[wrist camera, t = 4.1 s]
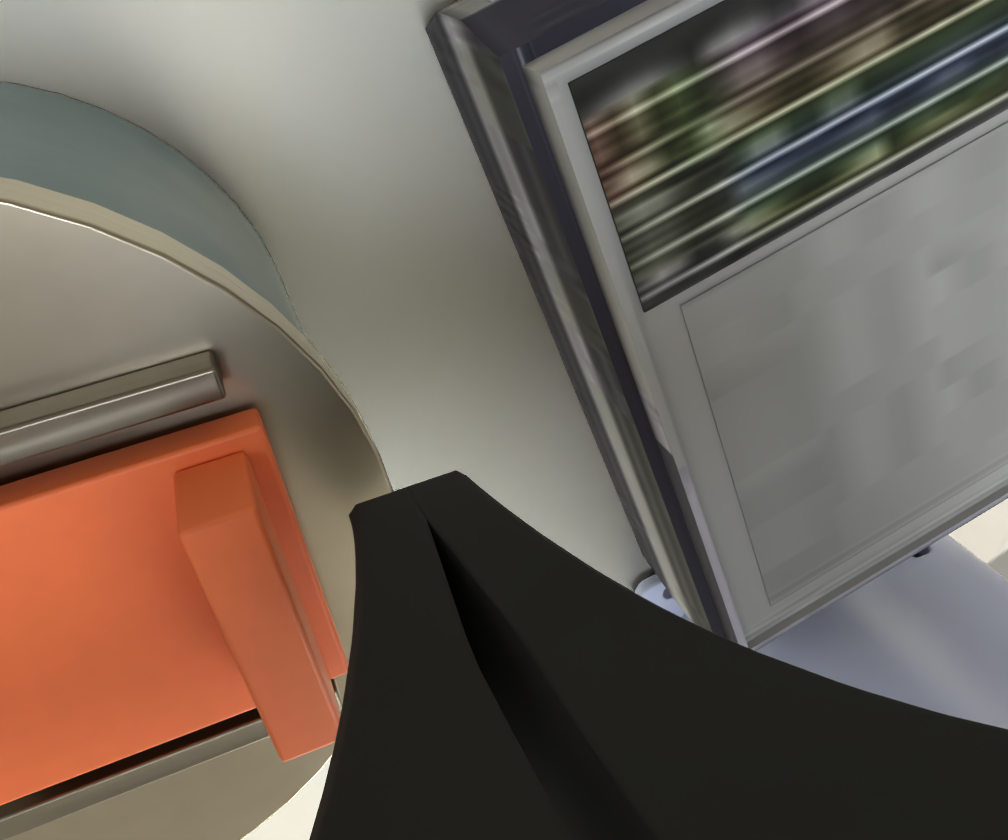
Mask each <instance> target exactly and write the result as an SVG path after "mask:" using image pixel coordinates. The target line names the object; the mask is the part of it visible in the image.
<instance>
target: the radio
mask: <svg viewBox="0 0 1008 840" xmlns="http://www.w3.org/2000/svg"><path fill="white" fill-rule="evenodd" d="M426 31H427V34H428V36H429V38H430V41H431V43H432V46H433V48H434V50H435V53H436V55H437V58H438V60H439V63H440V65H441V67H442V70H443V72H444V75H445V77H446V79H447V82H448V84H449V87H450V89H451V92H452V94H453V96H454V99H455V101H456V104H457V106H458V109H459V111H460V113H461V116H462V118H463V121H464V123H465V125H466V128H467V130H468V133H469V135H470V138H471V140H472V142H473V145H474V147H475V150H476V152H477V155H478V157H479V159H480V162H481V164H482V167H483V169H484V171H485V174H486V176H487V179H488V181H489V184H490V186H491V188H492V191H493V193H494V196H495V198H496V201H497V203H498V205H499V208H500V210H501V213H502V215H503V217H504V220H505V222H506V225H507V227H508V230H509V232H510V234H511V237H512V239H513V242H514V244H515V247H516V249H517V251H518V254H519V256H520V259H521V261H522V263H523V266H524V268H525V271H526V273H527V276H528V278H529V280H530V283H531V285H532V288H533V290H534V293H535V295H536V297H537V300H538V302H539V305H540V307H541V309H542V312H543V314H544V317H545V319H546V322H547V324H548V326H549V329H550V331H551V334H552V336H553V339H554V341H555V343H556V346H557V348H558V351H559V353H560V355H561V358H562V360H563V363H564V365H565V368H566V370H567V372H568V375H569V377H570V380H571V382H572V384H573V387H574V389H575V392H576V394H577V397H578V399H579V401H580V404H581V406H582V409H583V411H584V414H585V416H586V418H587V421H588V423H589V426H590V428H591V430H592V433H593V435H594V438H595V440H596V443H597V445H598V447H599V450H600V452H601V455H602V457H603V460H604V462H605V464H606V467H607V469H608V472H609V474H610V476H611V479H612V481H613V484H614V486H615V489H616V491H617V493H618V496H619V498H620V501H621V503H622V506H623V508H624V510H625V513H626V515H627V518H628V520H629V522H630V525H631V527H632V530H633V532H634V535H635V537H636V539H637V542H638V544H639V547H640V549H641V552H642V554H643V556H644V557H645V559H646V560H647V562H648V563H649V564H650V566H651V567H652V569H653V570H654V572H655V573H656V575H657V576H658V577H659V579H660V580H661V582H662V583H663V585H664V586H665V587H666V589H667V590H668V592H669V593H670V595H671V596H672V597H673V598H674V600H675V601H676V602H677V603H678V605H679V606H680V607H681V608H682V610H683V611H684V612H685V613H686V615H687V616H688V617H689V619H690V620H691V621H692V622H693V623H694V624H696V625H698V626H700V627H702V628H704V629H707V630H709V631H711V632H713V633H715V634H717V635H719V636H722V637H724V638H726V639H728V640H731V641H733V642H735V643H738V644H740V645H742V646H745V647H747V648H749V649H752V650H754V651H757V650H759V649H760V648H762V647H764V646H765V645H767V644H768V643H770V642H772V641H773V640H775V639H777V638H778V637H780V636H782V635H783V634H785V633H787V632H788V631H790V630H792V629H793V628H795V627H796V626H798V625H800V624H801V623H803V622H805V621H806V620H808V619H810V618H811V617H813V616H815V615H816V614H818V613H819V612H821V611H823V610H824V609H826V608H828V607H829V606H831V605H833V604H834V603H836V602H838V601H839V600H841V599H843V598H844V597H846V596H847V595H849V594H851V593H852V592H854V591H856V590H857V589H859V588H861V587H862V586H864V585H866V584H867V583H869V582H871V581H872V580H874V579H875V578H877V577H879V576H880V575H882V574H884V573H885V572H887V571H889V570H890V569H892V568H894V567H895V566H897V565H898V564H900V563H902V562H903V561H905V560H907V559H908V558H910V557H912V556H913V555H915V554H917V553H918V552H920V551H922V550H923V549H925V548H926V547H928V546H930V545H931V544H933V543H935V542H936V541H938V540H940V539H941V538H943V537H945V536H946V535H948V534H949V533H951V532H953V531H954V530H956V529H958V528H959V527H961V526H963V525H964V524H966V523H968V522H969V521H971V520H973V519H974V518H976V517H977V516H979V515H981V514H982V513H984V512H986V511H987V510H989V509H991V508H992V507H994V506H996V505H997V504H999V503H1001V502H1002V501H1004V500H1005V499H1007V498H1008V0H459V1H457V2H455V3H453V4H451V5H449V6H447V7H445V8H443V9H441V10H439V11H437V12H436V13H435V15H434V16H433V18H432V20H431V21H430V23H429V24H428V26H427V27H426Z"/></svg>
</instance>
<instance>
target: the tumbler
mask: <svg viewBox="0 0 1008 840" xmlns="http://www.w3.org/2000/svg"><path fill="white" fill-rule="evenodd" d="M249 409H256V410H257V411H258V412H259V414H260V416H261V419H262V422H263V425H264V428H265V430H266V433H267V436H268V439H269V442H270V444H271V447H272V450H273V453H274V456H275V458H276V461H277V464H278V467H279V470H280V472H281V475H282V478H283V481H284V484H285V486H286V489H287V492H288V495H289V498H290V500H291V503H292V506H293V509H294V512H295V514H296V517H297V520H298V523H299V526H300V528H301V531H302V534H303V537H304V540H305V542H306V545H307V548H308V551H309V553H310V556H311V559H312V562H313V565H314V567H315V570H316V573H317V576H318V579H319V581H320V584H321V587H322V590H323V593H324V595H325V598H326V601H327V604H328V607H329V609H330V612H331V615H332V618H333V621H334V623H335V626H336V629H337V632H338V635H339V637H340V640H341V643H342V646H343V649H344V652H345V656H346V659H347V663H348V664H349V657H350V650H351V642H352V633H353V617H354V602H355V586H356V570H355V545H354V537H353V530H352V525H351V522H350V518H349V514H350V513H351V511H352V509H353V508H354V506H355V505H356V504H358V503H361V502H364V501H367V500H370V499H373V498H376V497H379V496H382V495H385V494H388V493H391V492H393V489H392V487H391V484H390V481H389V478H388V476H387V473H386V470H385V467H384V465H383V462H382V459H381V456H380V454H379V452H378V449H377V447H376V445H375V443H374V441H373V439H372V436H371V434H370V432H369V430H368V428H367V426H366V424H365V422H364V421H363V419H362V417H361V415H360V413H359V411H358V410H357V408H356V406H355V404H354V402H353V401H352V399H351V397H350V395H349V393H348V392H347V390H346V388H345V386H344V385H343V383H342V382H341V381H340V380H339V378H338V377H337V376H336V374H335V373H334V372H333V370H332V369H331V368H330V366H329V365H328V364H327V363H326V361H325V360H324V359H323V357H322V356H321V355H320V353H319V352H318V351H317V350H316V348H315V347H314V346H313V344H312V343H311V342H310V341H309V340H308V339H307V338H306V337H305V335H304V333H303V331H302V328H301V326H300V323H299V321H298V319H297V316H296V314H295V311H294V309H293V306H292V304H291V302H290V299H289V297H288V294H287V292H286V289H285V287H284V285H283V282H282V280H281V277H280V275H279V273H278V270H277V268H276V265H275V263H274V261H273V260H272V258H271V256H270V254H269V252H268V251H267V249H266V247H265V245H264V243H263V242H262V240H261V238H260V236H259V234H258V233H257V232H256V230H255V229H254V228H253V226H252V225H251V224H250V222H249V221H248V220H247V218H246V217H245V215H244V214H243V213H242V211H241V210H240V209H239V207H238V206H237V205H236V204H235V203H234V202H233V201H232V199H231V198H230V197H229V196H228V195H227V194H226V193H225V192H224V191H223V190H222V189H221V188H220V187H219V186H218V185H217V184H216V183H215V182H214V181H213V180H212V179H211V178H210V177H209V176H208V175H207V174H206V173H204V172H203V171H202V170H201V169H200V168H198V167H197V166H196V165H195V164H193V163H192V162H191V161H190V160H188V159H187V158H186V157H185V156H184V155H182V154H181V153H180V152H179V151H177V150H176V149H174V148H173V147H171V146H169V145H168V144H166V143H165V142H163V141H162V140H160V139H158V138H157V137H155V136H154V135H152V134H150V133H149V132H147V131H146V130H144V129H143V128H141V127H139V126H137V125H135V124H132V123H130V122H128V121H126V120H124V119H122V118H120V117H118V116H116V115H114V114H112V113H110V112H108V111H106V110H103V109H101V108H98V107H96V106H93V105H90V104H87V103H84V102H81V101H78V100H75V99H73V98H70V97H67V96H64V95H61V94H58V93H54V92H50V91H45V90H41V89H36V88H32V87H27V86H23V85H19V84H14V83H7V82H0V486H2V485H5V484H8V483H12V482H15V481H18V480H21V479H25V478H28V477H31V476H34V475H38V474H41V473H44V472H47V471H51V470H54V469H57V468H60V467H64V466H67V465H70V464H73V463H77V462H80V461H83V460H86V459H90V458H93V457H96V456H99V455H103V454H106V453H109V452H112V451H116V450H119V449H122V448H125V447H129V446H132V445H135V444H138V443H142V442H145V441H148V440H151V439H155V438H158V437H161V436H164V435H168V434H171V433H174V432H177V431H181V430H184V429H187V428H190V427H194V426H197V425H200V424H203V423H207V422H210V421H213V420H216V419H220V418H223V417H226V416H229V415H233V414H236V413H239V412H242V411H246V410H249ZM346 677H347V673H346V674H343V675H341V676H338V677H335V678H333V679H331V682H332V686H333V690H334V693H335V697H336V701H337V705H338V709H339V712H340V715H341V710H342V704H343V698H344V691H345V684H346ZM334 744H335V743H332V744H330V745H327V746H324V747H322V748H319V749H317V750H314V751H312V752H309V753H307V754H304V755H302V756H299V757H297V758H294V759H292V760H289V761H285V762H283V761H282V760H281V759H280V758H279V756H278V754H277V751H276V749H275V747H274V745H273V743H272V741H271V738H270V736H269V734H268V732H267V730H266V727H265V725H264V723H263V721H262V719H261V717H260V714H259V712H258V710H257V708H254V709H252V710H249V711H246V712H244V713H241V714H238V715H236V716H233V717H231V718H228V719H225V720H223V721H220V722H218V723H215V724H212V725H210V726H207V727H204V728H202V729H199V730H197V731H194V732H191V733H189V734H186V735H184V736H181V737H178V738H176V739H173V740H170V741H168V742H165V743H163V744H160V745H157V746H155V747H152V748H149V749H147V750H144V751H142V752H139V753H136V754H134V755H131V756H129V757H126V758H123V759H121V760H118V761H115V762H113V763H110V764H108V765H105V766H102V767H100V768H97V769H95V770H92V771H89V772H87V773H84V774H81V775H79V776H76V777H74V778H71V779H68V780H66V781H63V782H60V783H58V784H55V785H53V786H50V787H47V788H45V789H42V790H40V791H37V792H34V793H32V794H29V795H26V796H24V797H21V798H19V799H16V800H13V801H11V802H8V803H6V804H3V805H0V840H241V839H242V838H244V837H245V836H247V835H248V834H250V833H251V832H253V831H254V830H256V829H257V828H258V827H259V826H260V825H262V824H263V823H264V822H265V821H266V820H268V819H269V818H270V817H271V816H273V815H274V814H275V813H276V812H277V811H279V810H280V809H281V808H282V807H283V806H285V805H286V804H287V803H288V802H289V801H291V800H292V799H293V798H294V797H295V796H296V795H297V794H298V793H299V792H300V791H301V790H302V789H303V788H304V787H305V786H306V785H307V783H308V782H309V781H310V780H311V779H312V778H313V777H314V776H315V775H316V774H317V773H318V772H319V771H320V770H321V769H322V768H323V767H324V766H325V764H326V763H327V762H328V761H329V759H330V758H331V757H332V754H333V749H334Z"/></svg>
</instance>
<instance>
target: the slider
mask: <svg viewBox="0 0 1008 840" xmlns="http://www.w3.org/2000/svg"><path fill="white" fill-rule="evenodd" d="M347 671H348V663H347V659H346V656H345V652H344V649H343V646H342V643H341V640H340V637H339V635H338V632H337V629H336V626H335V623H334V621H333V618H332V615H331V612H330V609H329V607H328V604H327V601H326V598H325V595H324V593H323V590H322V587H321V584H320V581H319V579H318V576H317V573H316V570H315V567H314V565H313V562H312V559H311V556H310V553H309V551H308V548H307V545H306V542H305V540H304V537H303V534H302V531H301V528H300V526H299V523H298V520H297V517H296V514H295V512H294V509H293V506H292V503H291V500H290V498H289V495H288V492H287V489H286V486H285V484H284V481H283V478H282V475H281V472H280V470H279V467H278V464H277V461H276V458H275V456H274V453H273V450H272V447H271V444H270V442H269V439H268V436H267V433H266V430H265V428H264V425H263V422H262V419H261V416H260V414H259V412H258V411H257V410H256V409H249V410H246V411H242V412H239V413H236V414H233V415H229V416H226V417H223V418H220V419H216V420H213V421H210V422H207V423H203V424H200V425H197V426H194V427H190V428H187V429H184V430H181V431H177V432H174V433H171V434H168V435H164V436H161V437H158V438H155V439H151V440H148V441H145V442H142V443H138V444H135V445H132V446H129V447H125V448H122V449H119V450H116V451H112V452H109V453H106V454H103V455H99V456H96V457H93V458H90V459H86V460H83V461H80V462H77V463H73V464H70V465H67V466H64V467H60V468H57V469H54V470H51V471H47V472H44V473H41V474H38V475H34V476H31V477H28V478H25V479H21V480H18V481H15V482H12V483H8V484H5V485H2V486H0V805H3V804H6V803H8V802H11V801H13V800H16V799H19V798H21V797H24V796H26V795H29V794H32V793H34V792H37V791H40V790H42V789H45V788H47V787H50V786H53V785H55V784H58V783H60V782H63V781H66V780H68V779H71V778H74V777H76V776H79V775H81V774H84V773H87V772H89V771H92V770H95V769H97V768H100V767H102V766H105V765H108V764H110V763H113V762H115V761H118V760H121V759H123V758H126V757H129V756H131V755H134V754H136V753H139V752H142V751H144V750H147V749H149V748H152V747H155V746H157V745H160V744H163V743H165V742H168V741H170V740H173V739H176V738H178V737H181V736H184V735H186V734H189V733H191V732H194V731H197V730H199V729H202V728H204V727H207V726H210V725H212V724H215V723H218V722H220V721H223V720H225V719H228V718H231V717H233V716H236V715H238V714H241V713H244V712H246V711H249V710H252V709H254V708H257V710H258V712H259V714H260V717H261V719H262V721H263V723H264V725H265V727H266V730H267V732H268V734H269V736H270V738H271V741H272V743H273V745H274V747H275V749H276V751H277V754H278V756H279V758H280V759H281V760H282V761H283V762H285V761H289V760H292V759H294V758H297V757H299V756H302V755H304V754H307V753H309V752H312V751H314V750H317V749H319V748H322V747H324V746H327V745H330V744H332V743H335V740H336V735H337V730H338V725H339V720H340V712H339V709H338V705H337V701H336V697H335V693H334V690H333V686H332V682H331V679H333V678H335V677H338V676H341V675H343V674H346V673H347Z"/></svg>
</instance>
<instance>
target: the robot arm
mask: <svg viewBox="0 0 1008 840" xmlns="http://www.w3.org/2000/svg"><path fill="white" fill-rule="evenodd" d="M349 518H350V522H351V525H352V530H353V537H354V545H355V570H356V586H355V602H354V617H353V633H352V642H351V650H350V657H349V664H348V671H347V677H346V684H345V691H344V698H343V704H342V710H341V715H340V720H339V725H338V730H337V735H336V740H335V744H334V749H333V754H332V758H331V762H330V766H329V770H328V774H327V778H326V782H325V787H324V790H323V794H322V798H321V802H320V805H319V808H318V812H317V815H316V819H315V822H314V826H313V829H312V833H311V836H310V839H309V840H1008V580H1006V579H1005V578H1004V577H1003V576H1001V575H1000V574H999V573H997V572H996V571H995V570H993V569H992V568H991V567H990V566H988V565H987V564H986V563H984V562H983V561H982V560H980V559H979V558H978V557H976V556H975V555H974V554H972V553H971V552H970V551H969V550H967V549H966V548H965V547H963V546H962V545H961V544H959V543H958V542H957V541H955V540H954V539H953V538H951V537H950V536H949V535H946V536H945V537H943V538H941V539H940V540H938V541H936V542H935V543H933V544H931V545H930V546H928V547H926V548H925V549H923V550H922V551H920V552H918V553H917V554H915V555H913V556H912V557H910V558H908V559H907V560H905V561H903V562H902V563H900V564H898V565H897V566H895V567H894V568H892V569H890V570H889V571H887V572H885V573H884V574H882V575H880V576H879V577H877V578H875V579H874V580H872V581H871V582H869V583H867V584H866V585H864V586H862V587H861V588H859V589H857V590H856V591H854V592H852V593H851V594H849V595H847V596H846V597H844V598H843V599H841V600H839V601H838V602H836V603H834V604H833V605H831V606H829V607H828V608H826V609H824V610H823V611H821V612H819V613H818V614H816V615H815V616H813V617H811V618H810V619H808V620H806V621H805V622H803V623H801V624H800V625H798V626H796V627H795V628H793V629H792V630H790V631H788V632H787V633H785V634H783V635H782V636H780V637H778V638H777V639H775V640H773V641H772V642H770V643H768V644H767V645H765V646H764V647H762V648H760V649H759V650H757V651H754V650H752V649H749V648H747V647H745V646H742V645H740V644H738V643H735V642H733V641H731V640H728V639H726V638H724V637H722V636H719V635H717V634H715V633H713V632H711V631H709V630H707V629H704V628H702V627H700V626H698V625H696V624H694V623H693V622H692V621H691V620H690V619H689V617H688V616H687V615H686V613H685V612H684V611H683V610H682V608H681V607H680V606H679V605H678V603H677V602H676V601H675V600H674V598H673V597H672V596H671V595H670V593H669V592H668V590H667V589H666V587H665V586H664V585H663V583H662V582H661V580H660V579H659V577H658V576H657V575H656V574H655V575H653V576H650V577H648V578H646V579H644V580H642V581H641V582H640V583H639V584H638V586H637V588H636V590H635V593H634V592H633V591H631V590H629V589H628V588H626V587H624V586H622V585H621V584H619V583H617V582H615V581H614V580H612V579H610V578H609V577H607V576H605V575H603V574H602V573H600V572H599V571H597V570H595V569H594V568H592V567H591V566H589V565H587V564H586V563H584V562H583V561H581V560H580V559H578V558H577V557H575V556H574V555H572V554H571V553H569V552H568V551H566V550H565V549H563V548H562V547H560V546H559V545H557V544H556V543H554V542H553V541H551V540H550V539H548V538H547V537H545V536H544V535H542V534H541V533H539V532H538V531H536V530H535V529H534V528H532V527H531V526H529V525H528V524H527V523H525V522H524V521H523V520H521V519H520V518H519V517H517V516H516V515H515V514H513V513H512V512H511V511H509V510H508V509H507V508H505V507H504V506H503V505H501V504H500V503H499V502H498V501H496V500H495V499H494V498H492V497H491V496H490V495H489V494H488V493H486V492H485V491H484V490H483V489H481V488H480V487H479V486H478V485H477V484H475V483H474V482H473V481H472V480H471V479H470V478H468V477H467V476H466V475H464V474H462V473H460V472H458V471H453V472H450V473H447V474H444V475H441V476H438V477H435V478H432V479H429V480H426V481H423V482H420V483H417V484H414V485H411V486H408V487H406V488H403V489H400V490H397V491H394V492H391V493H388V494H385V495H382V496H379V497H376V498H373V499H370V500H367V501H364V502H361V503H358V504H356V505H355V506H354V508H353V509H352V511H351V513H350V514H349Z"/></svg>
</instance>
